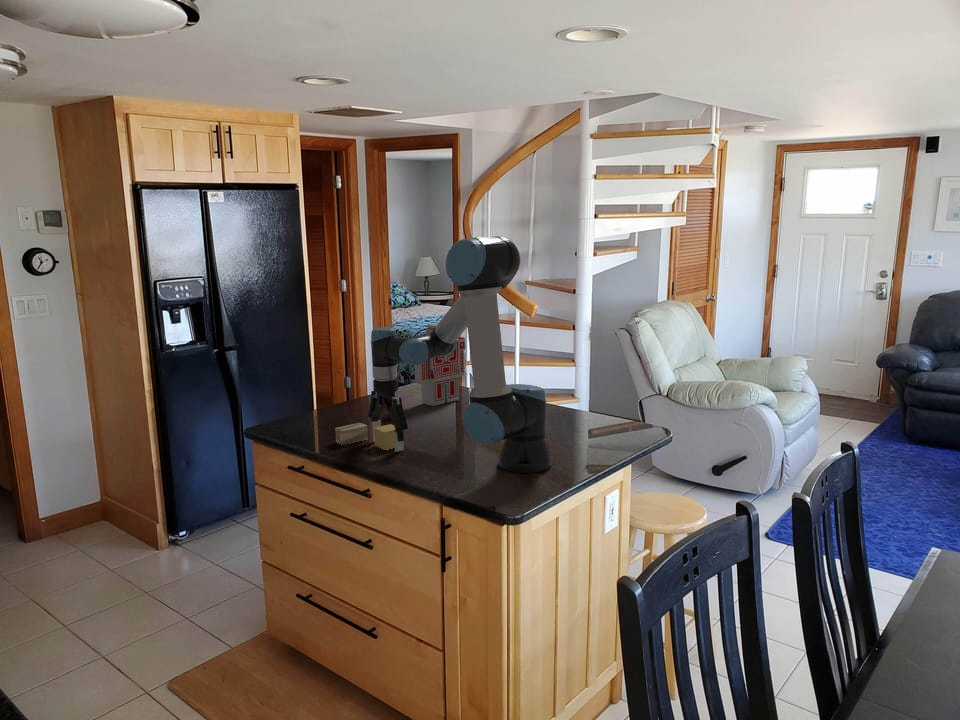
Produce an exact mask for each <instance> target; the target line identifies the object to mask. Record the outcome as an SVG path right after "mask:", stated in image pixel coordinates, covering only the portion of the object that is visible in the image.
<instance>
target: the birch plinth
mask: <svg viewBox="0 0 960 720" xmlns="http://www.w3.org/2000/svg"><path fill="white" fill-rule="evenodd" d="M334 431H335V443H336V442H337V443H336V444H338V443H339V444H338V445H340V444H341V445H340V446H342V445H345V446H347V445H346V444H349V445H352V444H351V443H354V444H356V443H355V442H358V443H360V442H359V441H362V442H365V441H364V440H366V441H368V440H369V433H368V432H369V431H368V425H367V424H365V423H362V422H357V423H353V424H352V423H351V424H348V425H343V426H338V427H335V430H334Z"/></svg>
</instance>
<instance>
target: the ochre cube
mask: <svg viewBox="0 0 960 720" xmlns="http://www.w3.org/2000/svg"><path fill="white" fill-rule="evenodd" d="M394 430H395V427H394V424H393V423H390V424H386V425H381V426H380V427H376V428H374V434H375V442H374V447H376V446H377V447H376V448H378V447H379V448H378V449H380V448H381V449H380V450H382V449H383V450H382V451H384V450H387V451H390V450H394V449H395V439H394ZM393 448H394V449H393ZM389 449H390V450H389Z"/></svg>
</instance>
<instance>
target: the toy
mask: <svg viewBox="0 0 960 720" xmlns="http://www.w3.org/2000/svg"><path fill="white" fill-rule="evenodd" d="M438 323H439V322H435V323H430V324H426V325H425V334H429V333H431V332H432V330H433V329H434V328H435V327H436V326H437V325H438ZM466 349H467V348H466V337H463V336H459V338H458V339H457V345H456V349H455V351H454V352H452V353H450V354H448V355H446V356H439V357H435V358H430V359H426V361H424V362H423V363H422V364H421V365H413V368H414V383H416V384H418V385H420V386H421V403H423V404H424V405H427V406H430V407H435V406H439V405H443V404H447V403H452V402H457V401H458V400H460V382H459V381H460V379H459V378H460V377H461V378H462V377H464V375H465V350H466Z"/></svg>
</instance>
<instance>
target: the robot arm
mask: <svg viewBox="0 0 960 720" xmlns="http://www.w3.org/2000/svg"><path fill="white" fill-rule="evenodd" d="M520 265H521V255H520V252H519V248H518V247H517V245H516V244H515V243H514V242H513V241H512V240H511V239H509V238H507V237H503V236H497V235H496V236H486V237H484V236H483V237H482V236H481V237H479V236H478V237H469V238H464V239H459V240H458V241H455V243H454V244H452V246H451V247H450V249H449V250H448V253H447V255H446V258H445V270H446V274H447V277H448V278H449V279H450V281H451V282H452V283H453V284H456V286H457V287H456V288H457V293H458V294H460V296H458V298H457V299H456V301H454V302H453V304H452V305H451V307H450V308H449V309H448V311H447V312H446V313H445V314H444V315H443V317H442V318H441V319H440V321H438V322H437V323H438V325H437V326H436V327H435V328H434V329H433V330H432V332H431V333H429V334H426V333H425V334H420V335H415V336H410V337H409V336H408V337H402V336H398V335H397V331H396V329H395V328H394V327H389V326H387V327H385V326H384V327H376V328H373V329H372V330H371V334H370V345H371V347H370V348H371V363H372V365H371V366H372V369H371V370H372V378H373V380H372V384H373V385H372V388H373V390H371V392H370V394H371V396H370V403H369V408H368V412H367V418H369V419H370V420H371V422H372V423H371V426H372V441H373V443H375V434H374V428H376V427H380V426H382V420H381V417H382V414H383V411H384V409H385V410H386V413H387V412H388V413H389V417H390V418H391V421H392V425H394V427H395V430H394V439H395V448H394V452H396V453H397V452H403V451H405V449H404V448H405V445H404V443H405V442H404V441H405V438H404V437H405V436H404V435H405V434H404V431H406V430H408V429H409V427H408V423H407V419H406V416H405V411H404V407H403V402H402V399H403V398H402V397H401V396H400V397H396V392H397V391H398V390H399V379H398V378H397V377H398V363H400V364H406V365H409V366H414V365H421V364H422V363H423V362H424V361H426V359H430V358H435V357H439V356H446V355H448V354H450V353H452V352H454V351H455V349H456V345H457V339H458V338H459V337H461V335H462V334H463V333H464V332H465V330H466V329H467V335H468V336H467V338H468V345H469V354H470V355H469V356H470V361H471V362H470V363H471V373H472V380H473V381H472V382H473V388H472V389H471V391H469V394H468V397H469V404H468V405H467V406H466V407H465V408H464V411H463V413H462V423H463V426H464V429H465V431H466V433H467V434H468V436H469V437H471V439H472V440H473V441H475V443H478V444H480V445H485V446H486V445H487V446H488V445H492V444H497V443H500V442H502V446H501V450H500V452H499V455H498V466H499V468H501V469H503V470H505V471H508V472H512V473H520V474H533V473H534V474H535V473H539V472H544V471H545V470H548V469H550V468H551V466H552V463H553V462H552V458H553V457H552V454H551V453H550V448H549V445H548V442H547V440H546V439H547V438H546V414H547V413H546V409H547V408H546V406H547V405H546V403H547V400H546V391H545V389H544V388H542V387H541V386H537V385H533V384H532V385H531V384H522V383H510V384H507V382H506V372H505V363H504V352H503V351H504V350H503V343H502V334H501V324H500V323H501V321H500V314H499V305H498V293H499V292H500V290H501V291H502V290H505V289H506V288H507V286H508V285H509V284H511V282H512V280H513V279H514V277H515V276H516V275H517V273H518V271H519V268H520Z"/></svg>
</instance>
